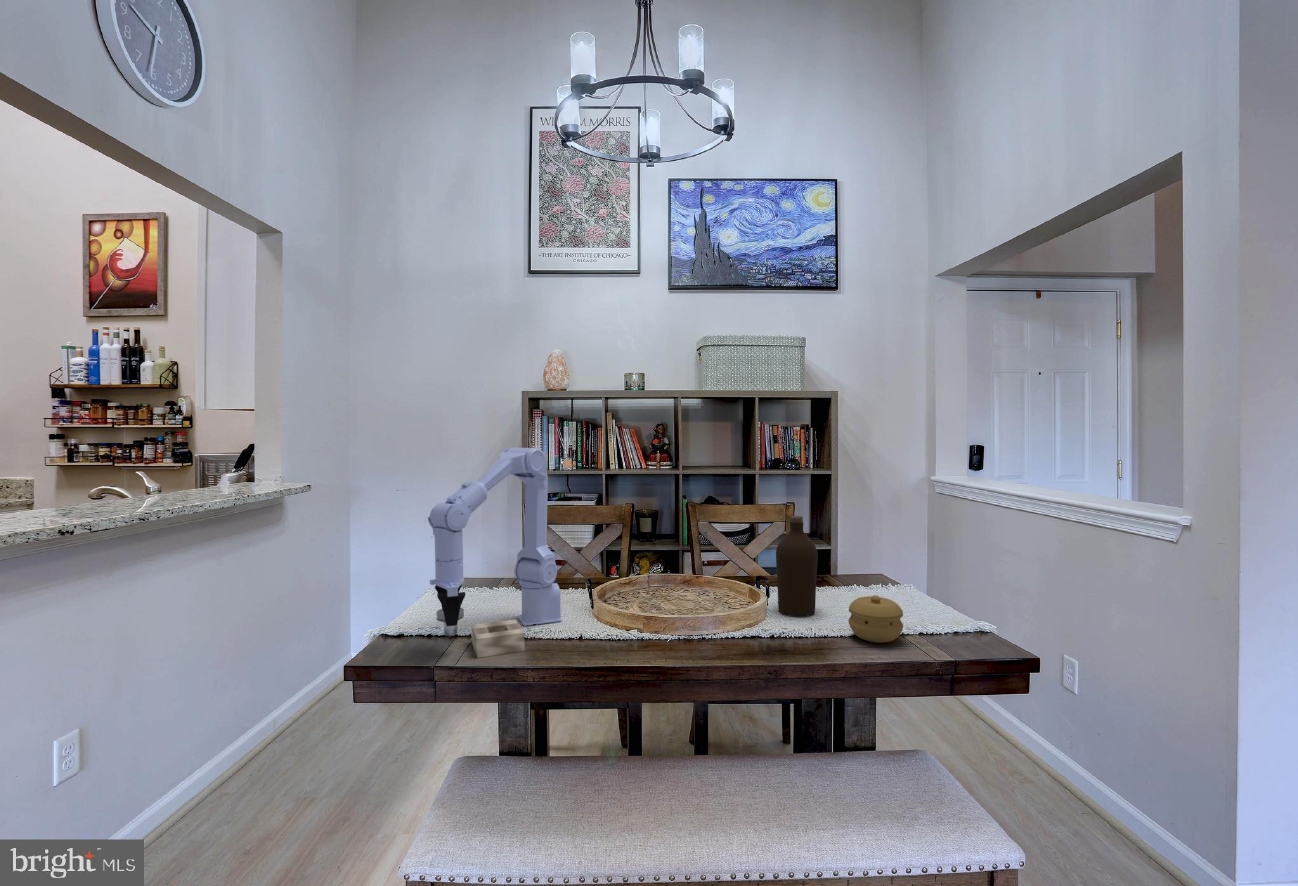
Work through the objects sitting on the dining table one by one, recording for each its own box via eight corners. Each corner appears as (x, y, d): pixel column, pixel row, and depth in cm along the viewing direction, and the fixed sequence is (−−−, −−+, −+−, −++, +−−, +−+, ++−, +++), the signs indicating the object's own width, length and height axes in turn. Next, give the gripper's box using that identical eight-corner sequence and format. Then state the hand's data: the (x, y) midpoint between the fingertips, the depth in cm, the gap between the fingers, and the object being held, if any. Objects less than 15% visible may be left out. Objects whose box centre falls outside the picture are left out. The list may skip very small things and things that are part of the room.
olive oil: (796, 620, 154) (796, 521, 153) (767, 610, 163) (767, 515, 162) (826, 613, 159) (826, 517, 159) (796, 603, 168) (796, 512, 168)
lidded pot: (879, 628, 148) (879, 586, 148) (915, 644, 137) (915, 600, 136) (837, 633, 144) (837, 591, 144) (870, 651, 133) (871, 605, 133)
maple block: (516, 636, 144) (515, 619, 144) (524, 650, 135) (524, 632, 135) (471, 642, 140) (471, 625, 140) (477, 657, 131) (477, 639, 131)
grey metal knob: (462, 628, 137) (462, 605, 137) (465, 635, 132) (465, 612, 132) (436, 631, 135) (435, 609, 135) (437, 639, 130) (437, 616, 130)
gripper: (427, 553, 138) (428, 613, 139) (431, 567, 125) (432, 634, 125) (460, 551, 141) (461, 609, 141) (467, 564, 127) (468, 629, 128)
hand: (450, 621), depth 133 cm, fingers closed on grey metal knob, 6 cm apart
